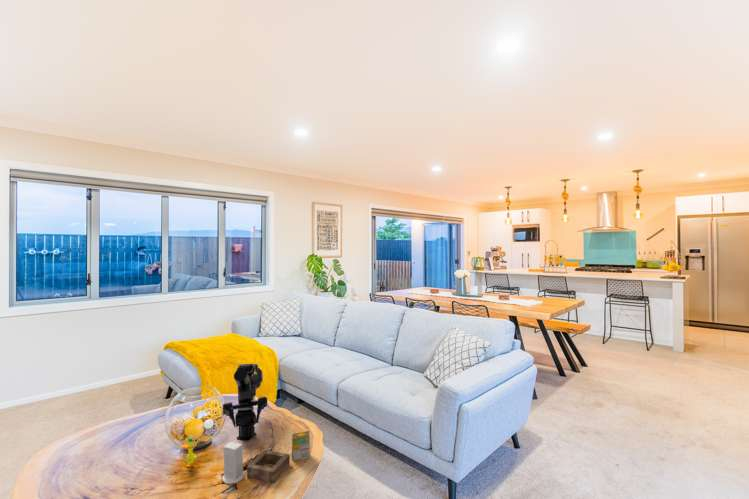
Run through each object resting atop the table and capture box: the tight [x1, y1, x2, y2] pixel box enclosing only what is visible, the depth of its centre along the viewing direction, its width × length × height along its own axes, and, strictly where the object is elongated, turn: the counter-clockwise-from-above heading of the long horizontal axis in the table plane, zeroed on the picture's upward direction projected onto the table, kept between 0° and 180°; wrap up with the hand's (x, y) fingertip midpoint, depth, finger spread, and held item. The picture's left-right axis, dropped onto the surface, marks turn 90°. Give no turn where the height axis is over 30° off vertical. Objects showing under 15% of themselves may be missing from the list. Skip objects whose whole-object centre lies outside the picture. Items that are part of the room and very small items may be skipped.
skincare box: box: [223, 441, 244, 480], centre depth 143 cm, size 6×4×12 cm
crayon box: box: [291, 430, 311, 462], centre depth 156 cm, size 7×3×12 cm, turn 111°
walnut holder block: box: [246, 449, 291, 484], centre depth 146 cm, size 12×12×4 cm
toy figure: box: [179, 436, 197, 468], centre depth 150 cm, size 7×4×12 cm, turn 92°
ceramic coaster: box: [222, 470, 245, 485], centre depth 143 cm, size 8×8×1 cm
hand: (246, 425), depth 157 cm, fingers open, 9 cm apart
